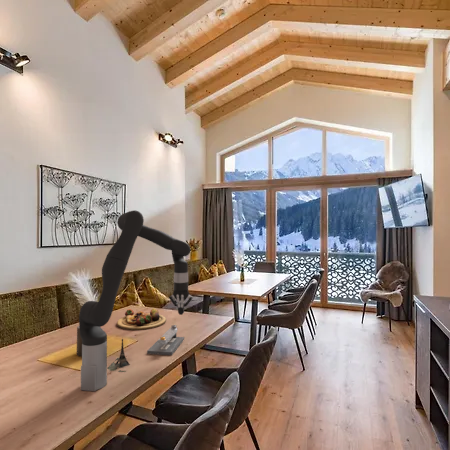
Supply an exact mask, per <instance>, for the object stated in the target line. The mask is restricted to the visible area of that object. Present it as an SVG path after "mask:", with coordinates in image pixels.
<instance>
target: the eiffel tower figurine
mask: <svg viewBox="0 0 450 450" xmlns="http://www.w3.org/2000/svg"><path fill="white" fill-rule="evenodd" d="M120 348H121V350H120V354H119V357H117V358H115V360H114V361H113V362H112V363H111V364H110V365H108V366H107V370H108V371H111V372H112V371H113V372H114V371H115V372H116V371H117V370H118V369H119V370H118V371H117V373H118V372H119V373H123V372H124V373H126V372H127V370H120V369H121V368H126V367H128V366H130V365H131V364H130V363H129V361H128V360H127V358H126V356H125V350H124V339H123V336H122V337H121V347H120Z"/></svg>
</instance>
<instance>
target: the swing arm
mask: <svg viewBox="0 0 450 450" xmlns="http://www.w3.org/2000/svg"><path fill="white" fill-rule="evenodd" d="M177 333H178V327H177V325H176V324H172V325H171V327H169V329H167V330H166V332H164V333H163V335H161V337H159V339H157V341H158V344H166V343H167V342H168V341H169V340H170V339H171V338H176V337H177Z"/></svg>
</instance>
